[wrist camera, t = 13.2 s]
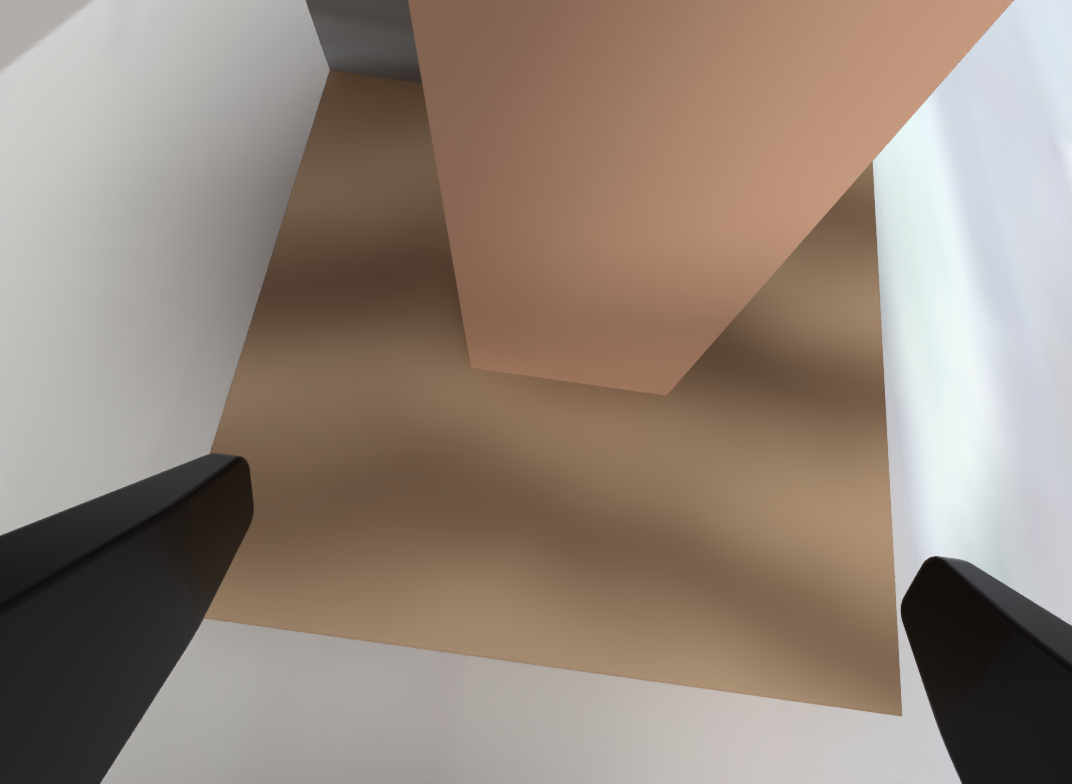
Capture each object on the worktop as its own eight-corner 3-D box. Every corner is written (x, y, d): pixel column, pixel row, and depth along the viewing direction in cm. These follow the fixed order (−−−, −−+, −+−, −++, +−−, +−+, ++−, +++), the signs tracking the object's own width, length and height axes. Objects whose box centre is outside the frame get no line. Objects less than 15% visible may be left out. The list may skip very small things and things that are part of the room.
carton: (470, 367, 16) (386, -134, 5) (501, 195, 18) (493, -472, 7) (666, 395, 16) (1046, -36, 5) (678, 221, 18) (976, -400, 7)
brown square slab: (865, 703, 15) (1002, 751, 11) (192, 609, 15) (71, 620, 11) (845, 141, 21) (931, 30, 17) (352, 69, 21) (313, -60, 17)
